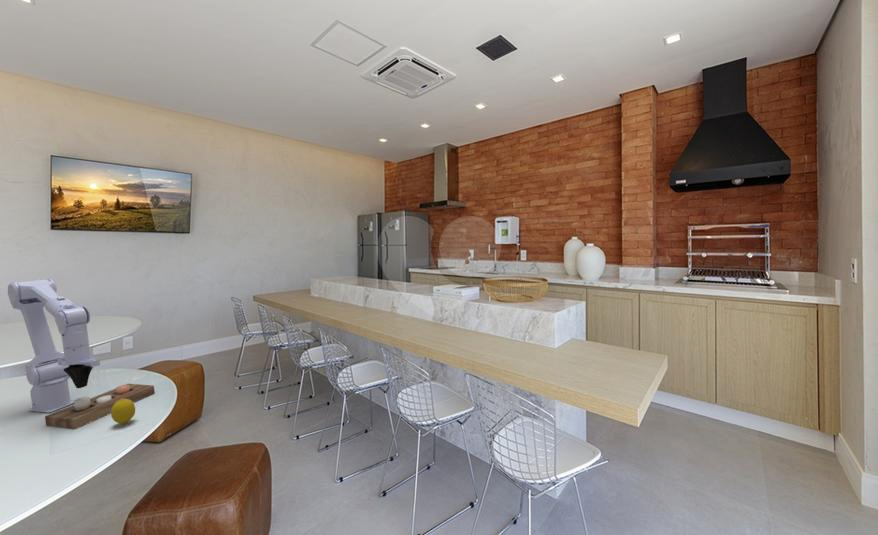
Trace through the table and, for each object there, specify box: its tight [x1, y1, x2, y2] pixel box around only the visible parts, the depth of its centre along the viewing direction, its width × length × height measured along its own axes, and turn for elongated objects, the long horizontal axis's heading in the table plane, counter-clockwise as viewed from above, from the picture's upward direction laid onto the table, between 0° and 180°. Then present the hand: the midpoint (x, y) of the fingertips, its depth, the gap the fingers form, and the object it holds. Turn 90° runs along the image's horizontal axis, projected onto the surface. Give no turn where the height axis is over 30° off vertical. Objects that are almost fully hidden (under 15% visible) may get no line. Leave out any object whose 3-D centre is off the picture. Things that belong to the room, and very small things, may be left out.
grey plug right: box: [73, 396, 91, 411], centre depth 113 cm, size 4×4×3 cm
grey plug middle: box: [96, 395, 111, 403], centre depth 119 cm, size 4×4×3 cm
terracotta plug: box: [115, 384, 130, 395], centre depth 125 cm, size 4×4×3 cm
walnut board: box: [44, 383, 156, 430], centre depth 119 cm, size 12×24×3 cm, turn 168°
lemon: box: [110, 398, 136, 425], centre depth 108 cm, size 6×6×8 cm
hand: (81, 387), depth 113 cm, fingers closed
